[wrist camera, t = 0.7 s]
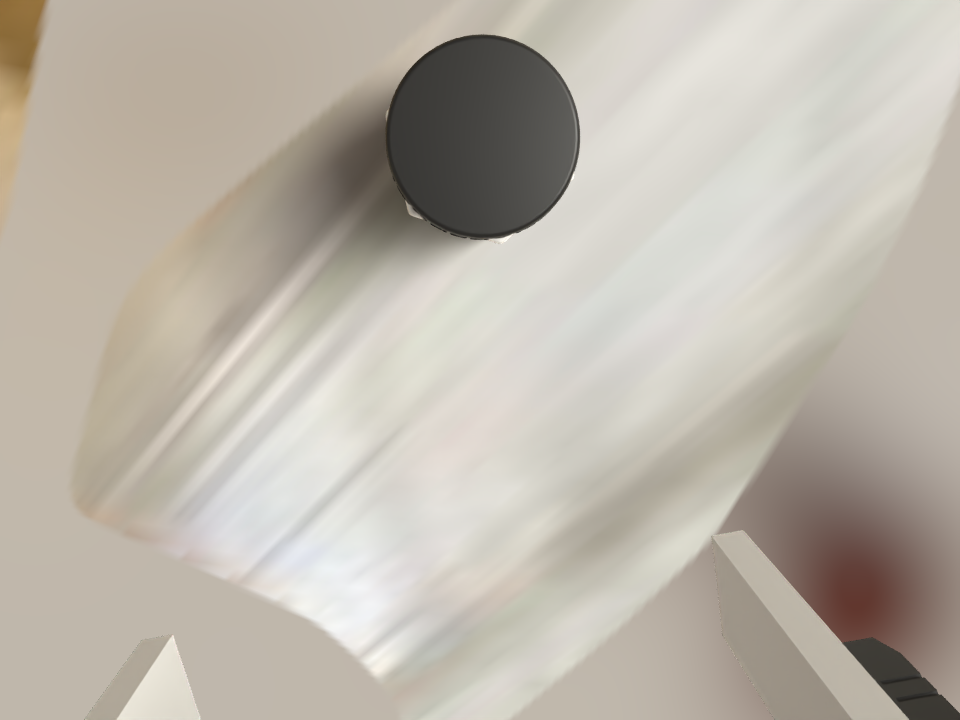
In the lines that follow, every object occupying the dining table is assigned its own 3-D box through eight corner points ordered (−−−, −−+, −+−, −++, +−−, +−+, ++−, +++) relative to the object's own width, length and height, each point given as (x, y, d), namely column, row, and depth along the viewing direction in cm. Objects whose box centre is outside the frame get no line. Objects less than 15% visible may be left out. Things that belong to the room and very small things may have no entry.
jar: (382, 205, 40) (351, 203, 28) (422, 65, 38) (406, 0, 26) (525, 251, 40) (553, 268, 29) (570, 116, 39) (618, 75, 27)
